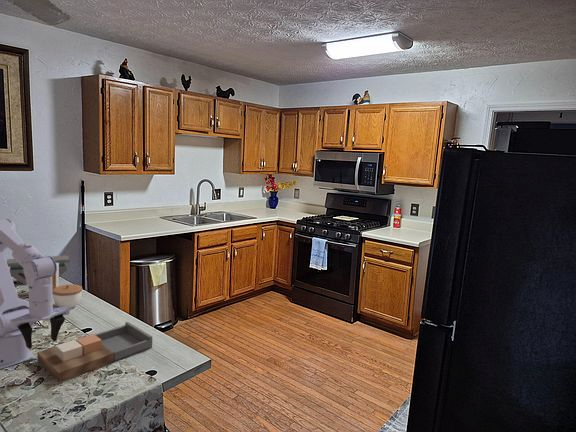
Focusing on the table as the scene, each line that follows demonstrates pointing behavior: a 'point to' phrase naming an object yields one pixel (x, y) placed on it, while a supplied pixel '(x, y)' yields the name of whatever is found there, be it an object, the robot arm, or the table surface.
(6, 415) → the table surface
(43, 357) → the brown wooden board
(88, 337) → the terracotta tile
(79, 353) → the cream tile
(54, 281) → the small box
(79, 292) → the lidded jar
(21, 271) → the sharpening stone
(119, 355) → the tray
